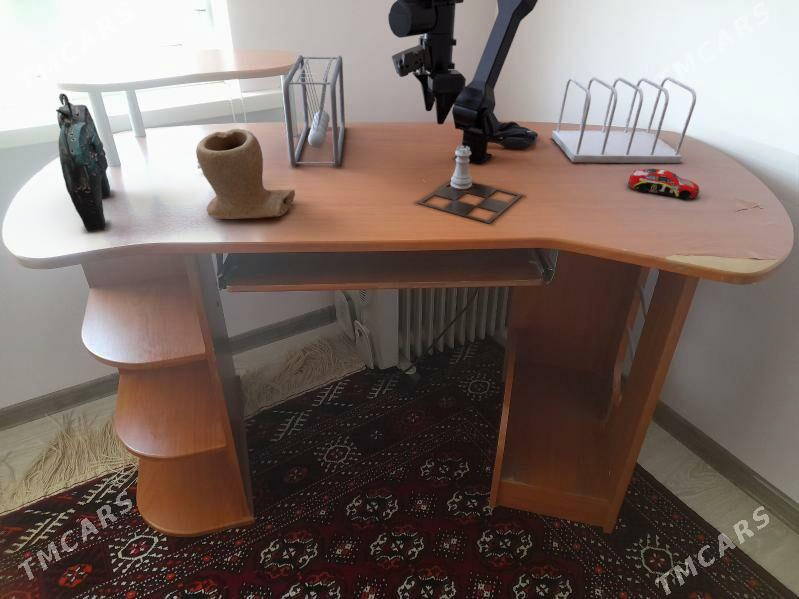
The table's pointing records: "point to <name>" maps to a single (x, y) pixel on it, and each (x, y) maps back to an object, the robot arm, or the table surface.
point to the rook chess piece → (462, 170)
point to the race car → (663, 183)
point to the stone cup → (238, 177)
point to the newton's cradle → (321, 117)
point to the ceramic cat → (83, 163)
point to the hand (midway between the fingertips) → (434, 117)
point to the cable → (513, 136)
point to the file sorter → (620, 143)
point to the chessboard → (465, 208)
